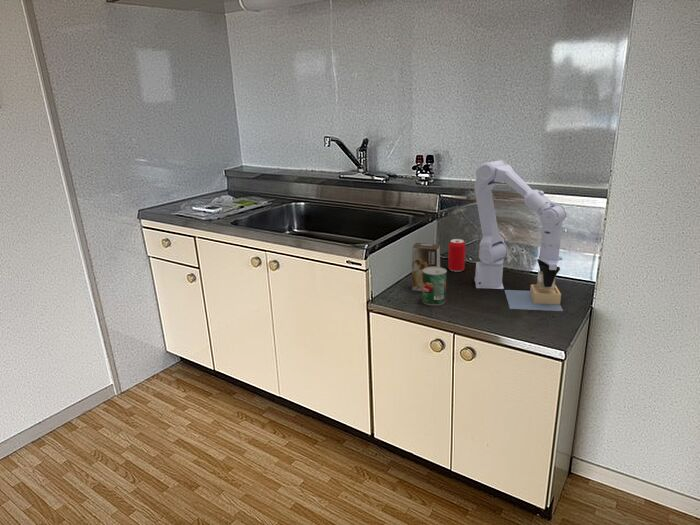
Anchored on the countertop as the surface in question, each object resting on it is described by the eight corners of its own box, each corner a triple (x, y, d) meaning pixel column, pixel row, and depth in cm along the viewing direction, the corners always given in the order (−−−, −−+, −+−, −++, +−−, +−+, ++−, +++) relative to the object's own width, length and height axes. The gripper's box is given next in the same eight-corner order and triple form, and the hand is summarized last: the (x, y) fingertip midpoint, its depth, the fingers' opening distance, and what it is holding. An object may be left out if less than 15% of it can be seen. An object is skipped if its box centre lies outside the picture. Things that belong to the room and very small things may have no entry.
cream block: (539, 288, 158) (540, 275, 157) (537, 283, 162) (538, 271, 161) (554, 289, 157) (555, 276, 156) (551, 284, 161) (552, 271, 160)
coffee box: (440, 286, 176) (441, 244, 171) (436, 293, 171) (437, 249, 165) (415, 284, 180) (416, 242, 174) (411, 290, 174) (411, 247, 169)
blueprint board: (509, 310, 155) (510, 298, 154) (504, 291, 170) (505, 280, 169) (563, 312, 152) (564, 300, 151) (552, 293, 167) (554, 282, 166)
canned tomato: (417, 301, 164) (417, 270, 161) (431, 294, 170) (431, 264, 166) (436, 307, 159) (437, 276, 155) (450, 300, 164) (451, 269, 161)
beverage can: (463, 267, 195) (464, 238, 191) (465, 272, 189) (466, 242, 185) (447, 267, 196) (448, 238, 192) (448, 272, 190) (449, 243, 186)
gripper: (569, 250, 148) (564, 292, 152) (558, 237, 161) (554, 276, 165) (544, 250, 149) (540, 291, 153) (536, 237, 162) (532, 275, 167)
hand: (546, 283), depth 159 cm, fingers closed on cream block, 4 cm apart
